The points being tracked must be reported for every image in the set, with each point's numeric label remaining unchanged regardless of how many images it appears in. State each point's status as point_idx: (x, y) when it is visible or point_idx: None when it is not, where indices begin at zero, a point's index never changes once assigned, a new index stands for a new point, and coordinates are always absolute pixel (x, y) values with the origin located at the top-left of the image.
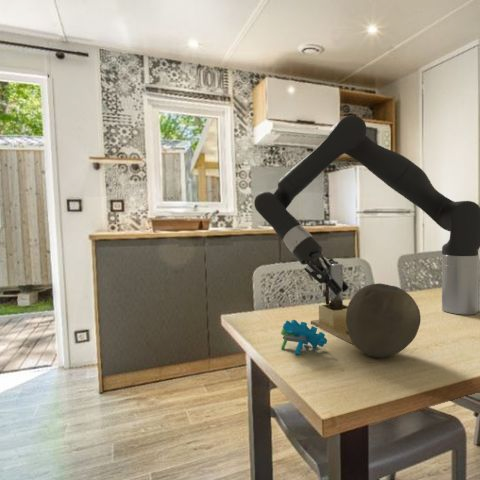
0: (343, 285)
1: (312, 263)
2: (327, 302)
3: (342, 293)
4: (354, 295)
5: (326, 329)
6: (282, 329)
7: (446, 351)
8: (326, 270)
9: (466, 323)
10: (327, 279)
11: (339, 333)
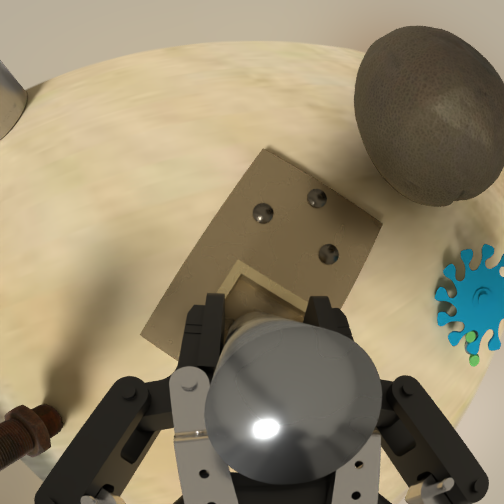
0: (222, 323)
1: (466, 496)
2: (56, 429)
3: (257, 314)
4: (496, 152)
5: None
6: (477, 363)
7: (291, 67)
8: (378, 431)
9: (80, 77)
10: (384, 380)
11: (350, 276)
